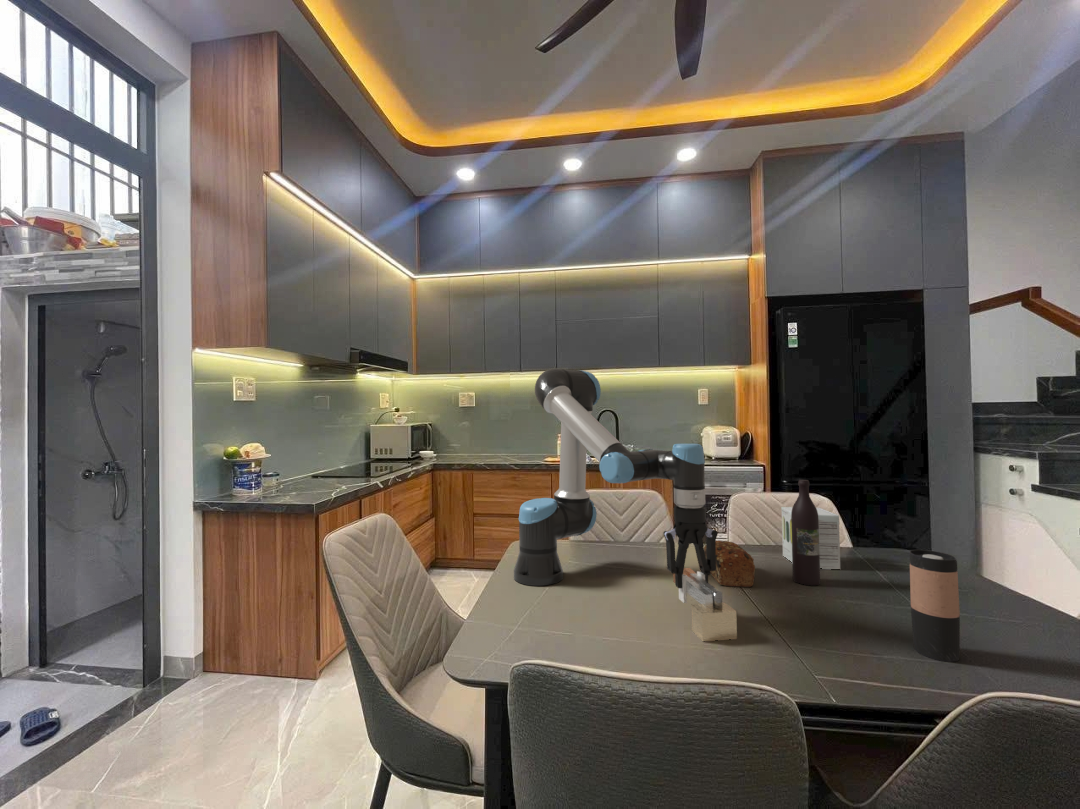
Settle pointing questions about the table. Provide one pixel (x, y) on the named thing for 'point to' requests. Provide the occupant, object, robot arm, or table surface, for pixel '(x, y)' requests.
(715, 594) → the tong arm
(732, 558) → the bread
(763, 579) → the table surface
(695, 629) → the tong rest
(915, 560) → the travel mug
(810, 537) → the wine bottle
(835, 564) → the supplement box
